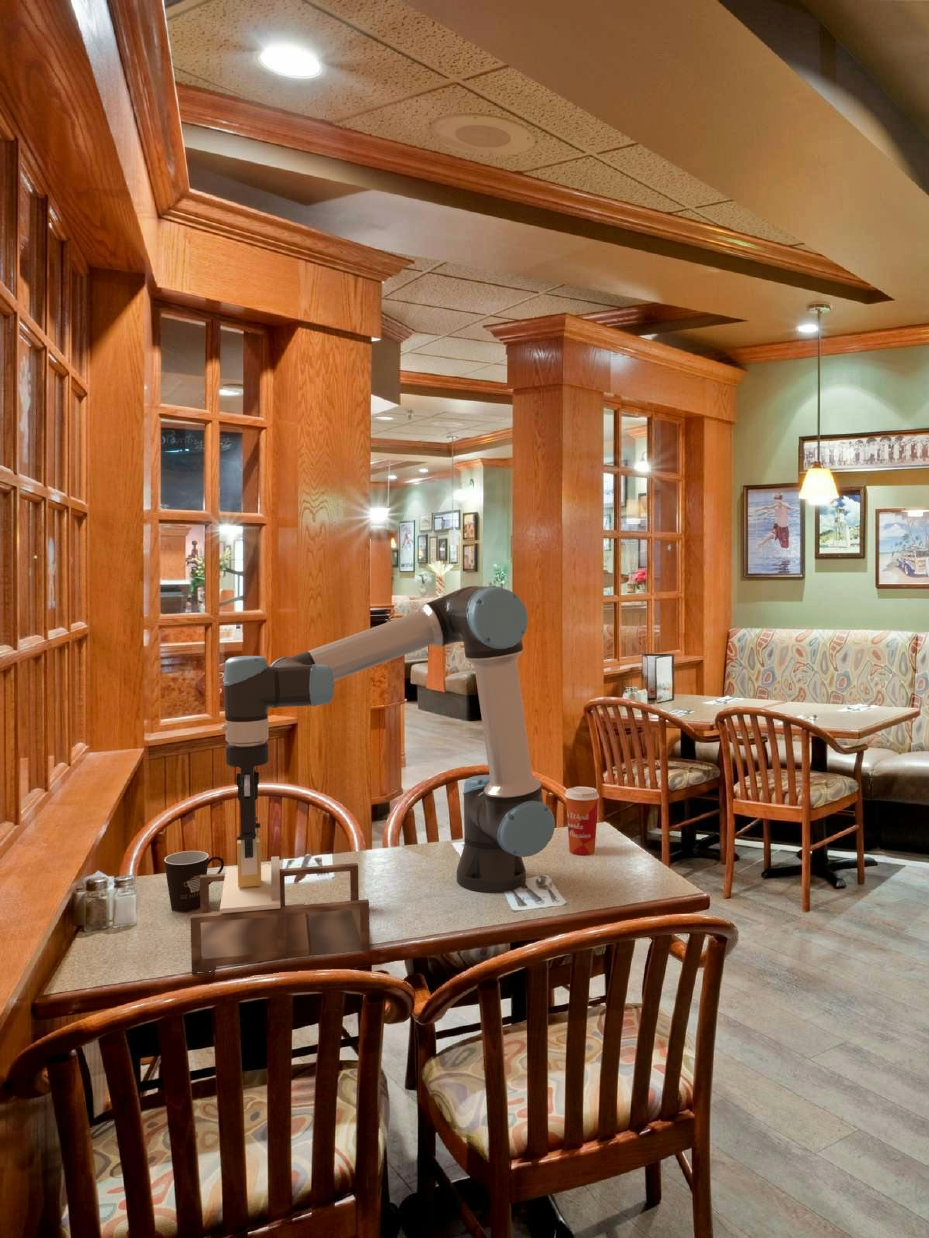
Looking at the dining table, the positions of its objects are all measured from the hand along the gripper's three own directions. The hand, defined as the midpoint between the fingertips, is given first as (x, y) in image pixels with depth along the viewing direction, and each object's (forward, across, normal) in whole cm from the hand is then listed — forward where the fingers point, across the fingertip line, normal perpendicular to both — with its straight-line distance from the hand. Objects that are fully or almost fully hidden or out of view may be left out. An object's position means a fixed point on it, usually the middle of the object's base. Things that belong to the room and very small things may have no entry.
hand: (249, 869), depth 161 cm
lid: (+4, 0, 0) cm, 4 cm away
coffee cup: (+14, -36, +76) cm, 85 cm away
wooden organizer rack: (+14, 0, +6) cm, 15 cm away
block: (+2, 0, 0) cm, 2 cm away
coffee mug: (+14, -22, -12) cm, 28 cm away
